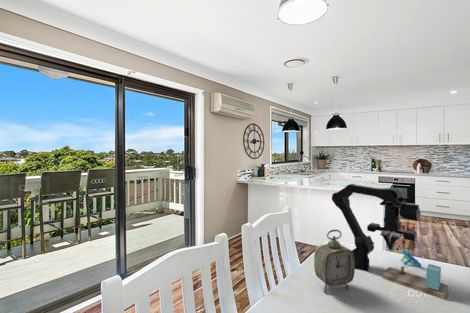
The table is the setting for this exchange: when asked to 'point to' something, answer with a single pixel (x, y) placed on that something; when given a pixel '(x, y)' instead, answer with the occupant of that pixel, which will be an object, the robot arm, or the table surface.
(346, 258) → the tabletop clock
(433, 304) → the table surface
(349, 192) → the robot arm
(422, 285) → the board
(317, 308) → the table surface
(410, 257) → the blue irregular piece
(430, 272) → the block
